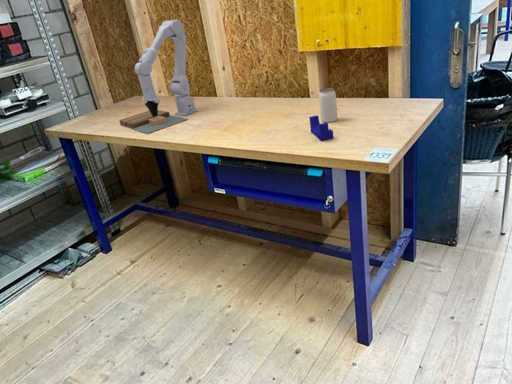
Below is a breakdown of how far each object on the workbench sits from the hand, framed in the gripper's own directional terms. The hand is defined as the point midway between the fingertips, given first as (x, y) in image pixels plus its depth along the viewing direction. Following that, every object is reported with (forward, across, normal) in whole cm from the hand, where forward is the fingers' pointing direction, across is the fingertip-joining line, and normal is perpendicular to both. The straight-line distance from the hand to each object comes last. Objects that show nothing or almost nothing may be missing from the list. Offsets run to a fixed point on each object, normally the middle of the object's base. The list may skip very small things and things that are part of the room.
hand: (155, 116), depth 206 cm
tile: (+3, +2, 0) cm, 3 cm away
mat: (+3, +5, -1) cm, 6 cm away
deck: (+3, -10, -1) cm, 11 cm away
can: (+3, +80, +34) cm, 87 cm away
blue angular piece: (+4, +89, +19) cm, 92 cm away
